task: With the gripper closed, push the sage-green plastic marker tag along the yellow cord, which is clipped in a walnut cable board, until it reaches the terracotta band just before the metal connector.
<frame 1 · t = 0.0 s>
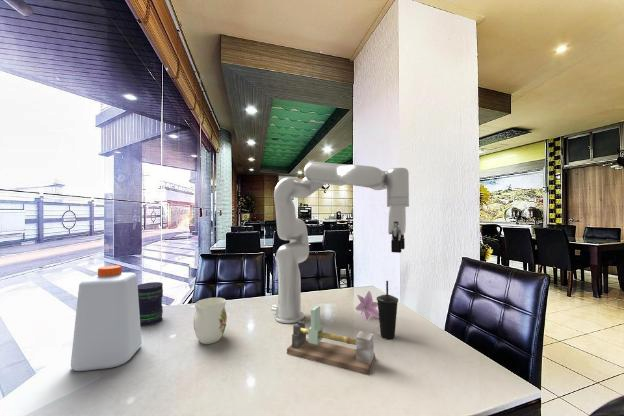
hand: (398, 250, 94), 31 cm above the table, tool pointing down, fingers open, 9 cm apart
lily: (367, 317, 114), on the table
plastic bottle: (108, 358, 82), on the table
marker tag: (315, 324, 85), point 9 cm above the table, slide at 0.0 cm
drinking cup: (387, 337, 95), on the table
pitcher: (211, 338, 95), on the table
storage jar: (149, 321, 110), on the table
cable board: (330, 356, 82), on the table
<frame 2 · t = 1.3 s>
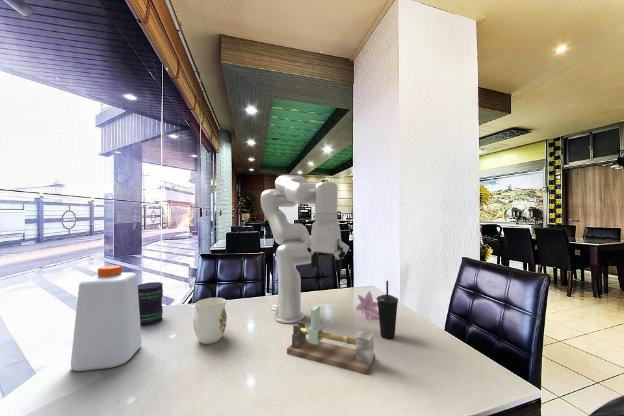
hand: (326, 269, 89), 26 cm above the table, tool pointing down, fingers open, 9 cm apart
nothing on the table moved.
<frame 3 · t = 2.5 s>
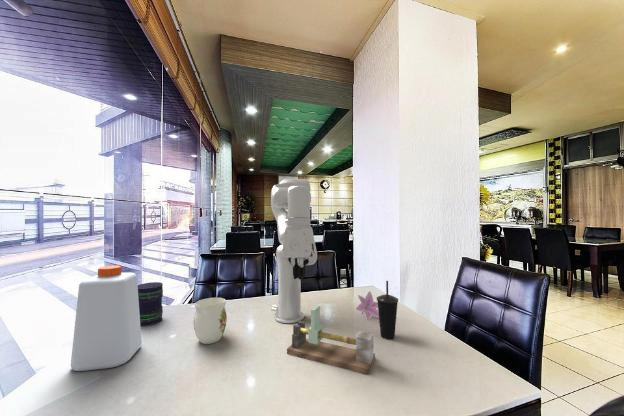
hand: (299, 278, 88), 23 cm above the table, tool pointing down, fingers closed
nothing on the table moved.
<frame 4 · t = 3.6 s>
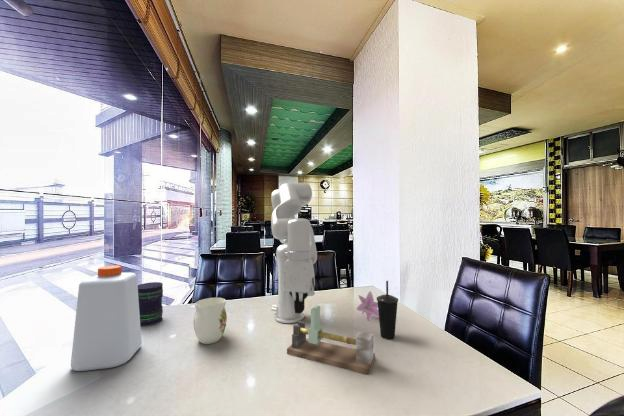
hand: (299, 312, 87), 12 cm above the table, tool pointing down, fingers closed
nothing on the table moved.
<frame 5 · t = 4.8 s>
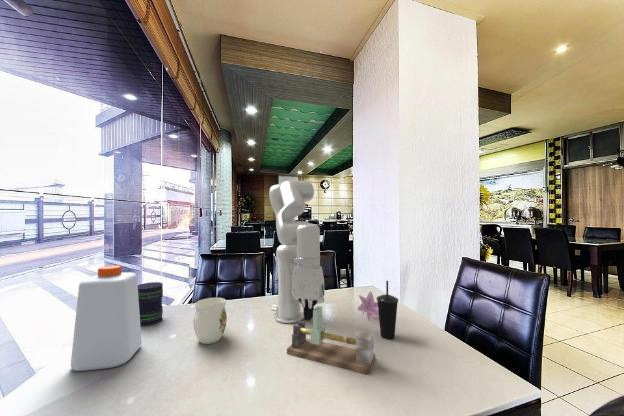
hand: (308, 319, 86), 10 cm above the table, tool pointing down, fingers closed
marker tag: (317, 324, 84), point 9 cm above the table, slide at 0.7 cm, touching gripper
everything else where it was.
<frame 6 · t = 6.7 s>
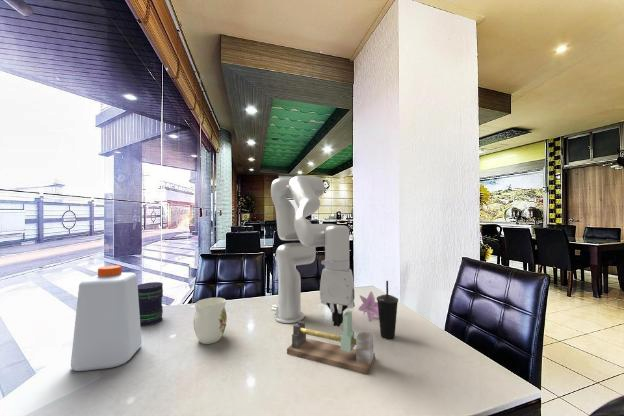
hand: (337, 324, 82), 10 cm above the table, tool pointing down, fingers closed
marker tag: (347, 330, 80), point 9 cm above the table, slide at 10.7 cm, touching gripper
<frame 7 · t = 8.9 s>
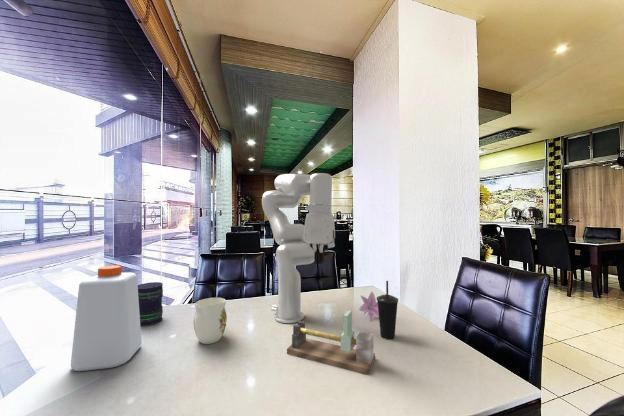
hand: (319, 263, 91), 27 cm above the table, tool pointing down, fingers closed
marker tag: (347, 330, 80), point 9 cm above the table, slide at 10.7 cm
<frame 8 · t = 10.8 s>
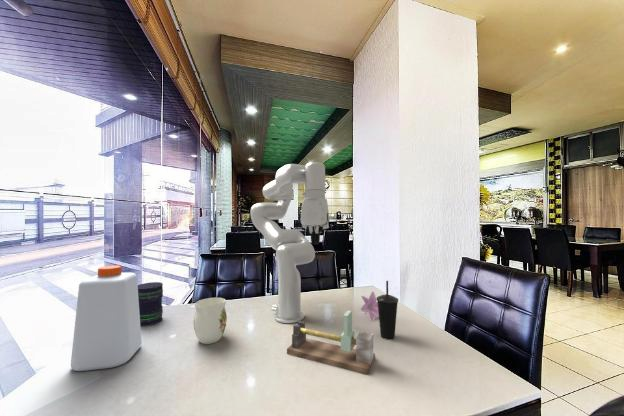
hand: (315, 243, 100), 33 cm above the table, tool pointing down, fingers closed
at the end: marker tag slide at 10.7 cm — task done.
